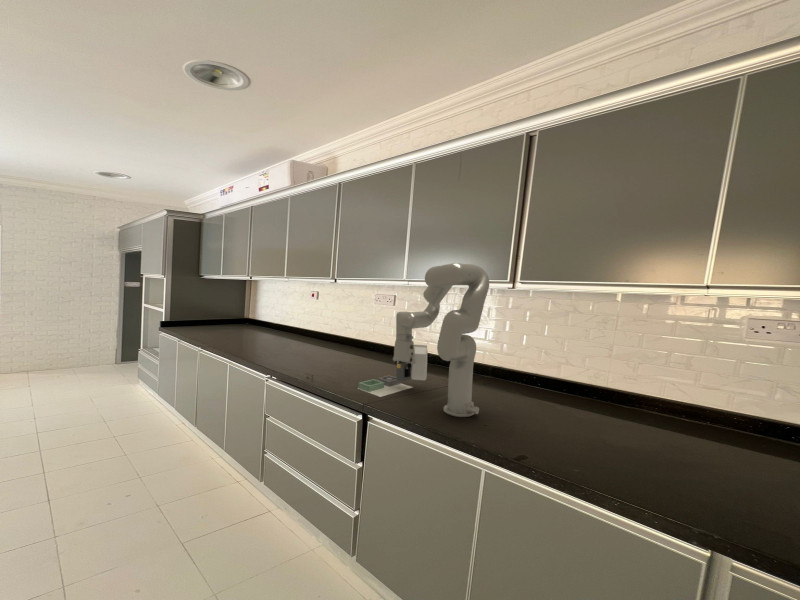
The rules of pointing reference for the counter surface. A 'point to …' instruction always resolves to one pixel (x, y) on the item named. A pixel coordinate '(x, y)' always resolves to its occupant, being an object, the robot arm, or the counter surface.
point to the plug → (401, 372)
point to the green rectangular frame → (371, 385)
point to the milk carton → (420, 363)
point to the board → (389, 386)
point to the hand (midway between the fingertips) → (403, 375)
